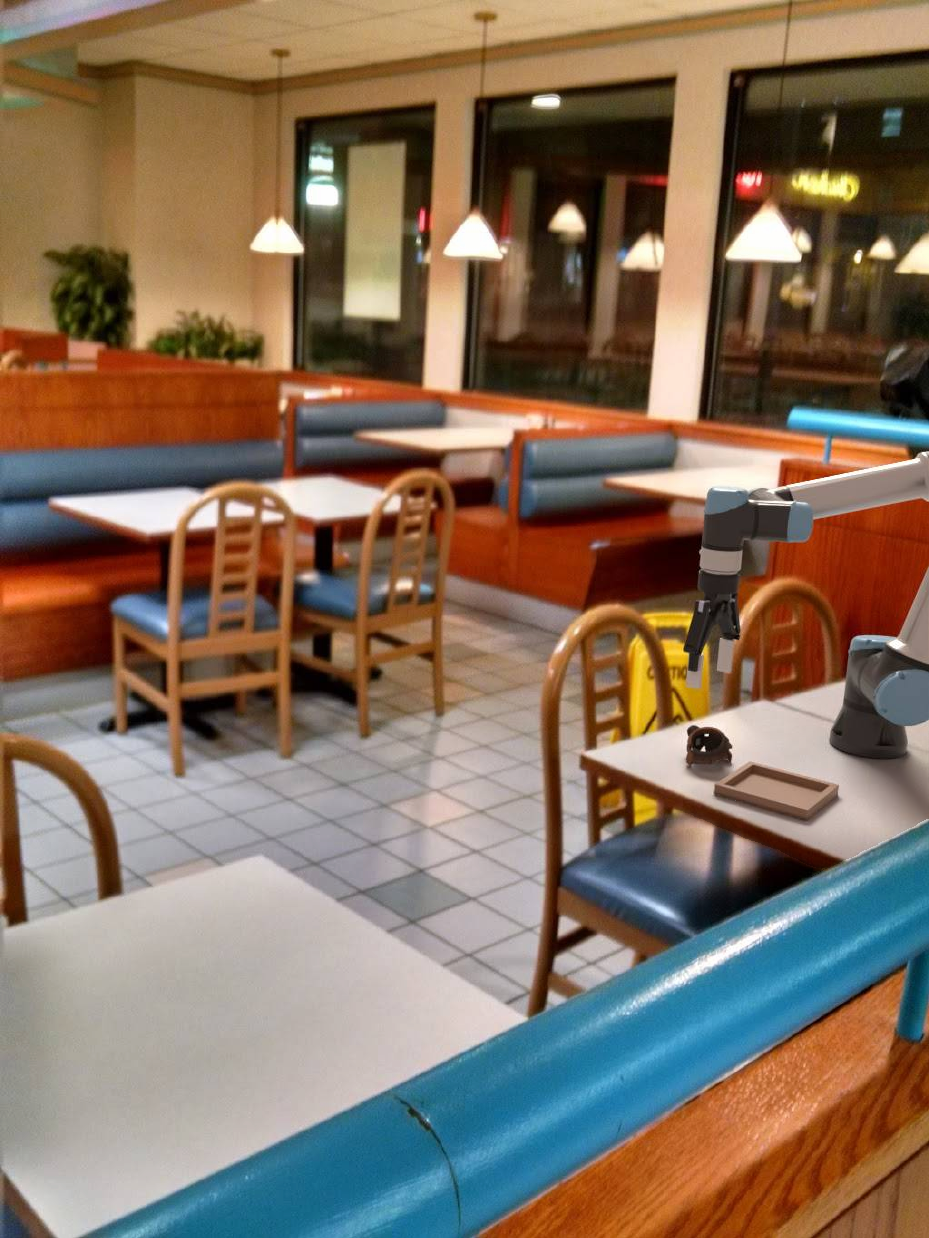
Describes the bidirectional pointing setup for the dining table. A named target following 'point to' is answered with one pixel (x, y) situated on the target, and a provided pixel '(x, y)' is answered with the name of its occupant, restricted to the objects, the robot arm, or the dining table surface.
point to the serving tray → (777, 790)
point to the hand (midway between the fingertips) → (708, 679)
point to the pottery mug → (707, 746)
